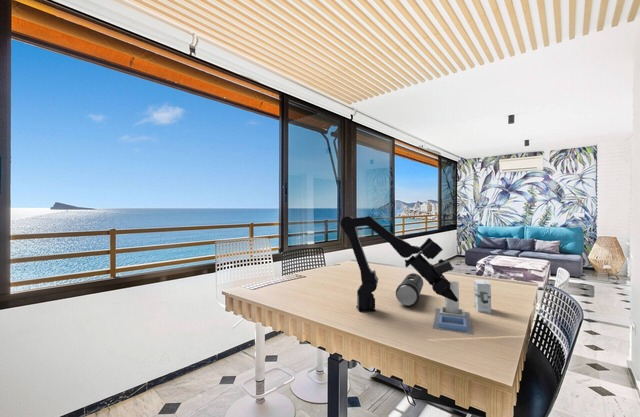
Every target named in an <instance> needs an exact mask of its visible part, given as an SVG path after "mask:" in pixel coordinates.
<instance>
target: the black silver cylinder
mask: <svg viewBox="0 0 640 417" xmlns="http://www.w3.org/2000/svg"><path fill="white" fill-rule="evenodd" d="M423 287H424V280H423V277H422V276H421V275H420V274H417V273H414V272H413V273H409V274H407V275H406V276H405V278H404V279H403V280H402V282H401V283H399V284H398V286H397V288H396V290H395V296H396V299H397V301H398V302H399V303H400V304H402V305H404V306H406V307H407V306H409V307H412V306H414V305H416V304H417V302H418V301H419V300H420V297H421V292H422V289H423Z"/></svg>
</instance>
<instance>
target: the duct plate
mask: <svg viewBox="0 0 640 417" xmlns="http://www.w3.org/2000/svg"><path fill="white" fill-rule="evenodd" d="M472 325H473V324H472V320H471V316H470V312H469V311H465V308H459V314H452V313H445V306H440V308H437V307H436V308H435V314H434V319H433V325H432V329H434V330H439V331H440V330H441V331H446V332H452V333H461V334H467V335H468V334H469V335H474V330H473V326H472Z"/></svg>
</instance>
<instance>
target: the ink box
mask: <svg viewBox="0 0 640 417" xmlns="http://www.w3.org/2000/svg"><path fill="white" fill-rule="evenodd" d="M473 281H474V283H473V285H474V287H473V288H474V291H473V292H474V294H473V295H474V296H473V297H474V308H475V310H476V312H477V313H486V314H492V288H491V287H492V285H491V283H490V282H489V280H487V279H474V280H473Z"/></svg>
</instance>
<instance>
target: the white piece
mask: <svg viewBox="0 0 640 417" xmlns="http://www.w3.org/2000/svg"><path fill="white" fill-rule="evenodd" d="M448 281H449V282H450V284H451V285H450V289H451V290H452V292H453V293H454V295H455V296H456V297H457V299H458V301H457V302H455V301H453V300H450V299H448V298H446V297H444V298H445V302H444V303H445V306H444V307H445V313H452V314H459V309H460V286H459V285H460V283H459V281H456V280H448Z"/></svg>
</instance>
